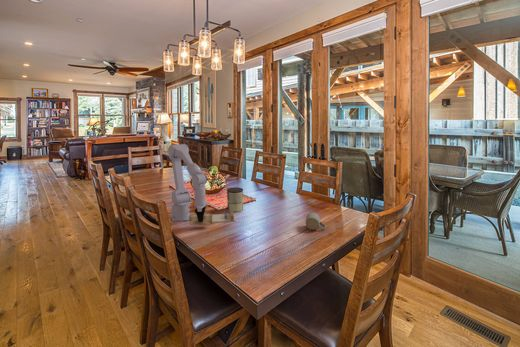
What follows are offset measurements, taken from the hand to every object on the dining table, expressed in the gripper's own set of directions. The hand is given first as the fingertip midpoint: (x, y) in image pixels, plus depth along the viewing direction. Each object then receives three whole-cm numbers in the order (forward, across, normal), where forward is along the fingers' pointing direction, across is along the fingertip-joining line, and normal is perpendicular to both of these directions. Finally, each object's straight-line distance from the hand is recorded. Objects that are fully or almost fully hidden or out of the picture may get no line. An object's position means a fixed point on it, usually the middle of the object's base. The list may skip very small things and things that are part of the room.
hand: (200, 220), depth 157 cm
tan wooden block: (+2, 0, 0) cm, 2 cm away
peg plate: (+4, +13, -9) cm, 17 cm away
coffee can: (+4, +28, -20) cm, 35 cm away
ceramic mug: (+4, -9, -61) cm, 62 cm away
